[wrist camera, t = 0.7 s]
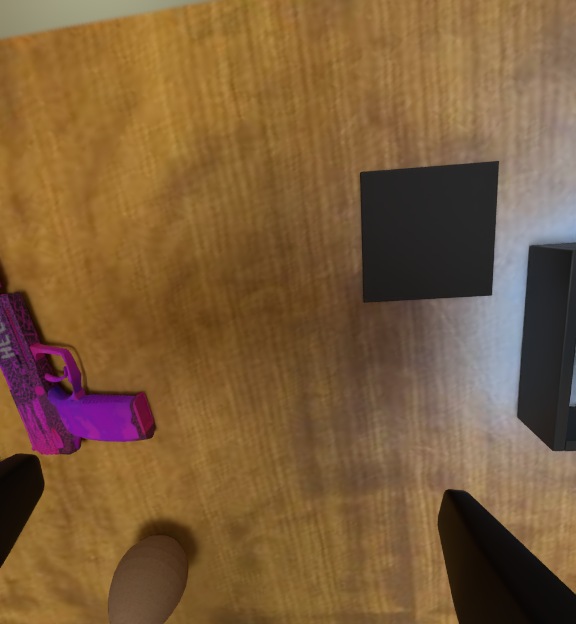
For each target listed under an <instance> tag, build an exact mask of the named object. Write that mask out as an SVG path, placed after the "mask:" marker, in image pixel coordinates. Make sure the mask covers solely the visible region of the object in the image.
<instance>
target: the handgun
mask: <svg viewBox="0 0 576 624" xmlns="http://www.w3.org/2000/svg"><path fill="white" fill-rule="evenodd" d="M0 287H2V285H1V283H0ZM45 353H48V354H56V355H62V357H63V359H64V361H65V363H66V366H67V367H66V366H64V372H65V374H64V376H62V377H56V376H55V375H54V372H53V370H52V367H51V365H50V363H49V362H48V360H47V357H46V355H45ZM0 367H1V369H2V371H3V374H4V376H5V378H6V381H7V383H8V385H9V388H10V392H11V394H12V397H13V399H14V401H15V404H16V406H17V408H18V411H19V413H20V415H21V418H22V420H23V422H24V424H25V427H26V429H27V431H28V434H29V438H30V441H31V444H32V446H33V448H32V450H33V451H34V450H36V451H38V452H39V453H41V454H45V455H49V454H55V455H57V454H72V453H74V452H76V451H77V450H79V449H80V447H81V440H82V437H83V438H87V439H92V440H99V441H120V442H125V441H138V440H145V439H150V438H152V437H153V435H154V431H155V425H154V420H153V417H152V414H151V411H150V409H149V406H148V403H147V400H146V397H145V394H144V393H143V392H141V393H139V394H138V395H137V396H128V395H127V396H125V395H124V396H122V395H120V396H119V395H117V396H115V395H113V396H112V395H110V396H109V395H102V394H101V395H99V394H98V395H96V394H94V395H93V394H91V395H85V391H84V389H82V387H81V373H80V371H79V369H78V367H77V365H76V363H75V361H74V359H73V357H72V355H71V353H70V352H69V350H67V349H63V348H58V347H52V346H46V345H41V342H40V340H39V337H38V335H37V332H36V330H35V327H34V325H33V323H32V320H31V318H30V315H29V313H28V310H27V308H26V305H25V303H24V300H23V298H22V295H21V293H20V292H18V293H14V294H12V293H10V294H7V293H6V294H2V295H1V296H0ZM67 376H68V381H69V382H70V383H72V385H73V393H72V395H68V394H66V393H65V392H64V391H63V390H62V389H61V388H60V386H59V385H58V381H60V380H62V379H64V378H66V377H67Z"/></svg>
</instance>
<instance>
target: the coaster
mask: <svg viewBox="0 0 576 624" xmlns="http://www.w3.org/2000/svg"><path fill="white" fill-rule="evenodd" d="M498 168H499V161H495V162H482V163H470V164H458V165H445V166H433V167H420V168H408V169H395V170H383V171H370V172H361V173H360V178H361V218H362V257H363V297H364V302H381V301H399V300H418V299H436V298H454V297H472V296H490V295H492V283H493V264H494V245H495V226H496V206H497V187H498Z"/></svg>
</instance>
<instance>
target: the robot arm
mask: <svg viewBox="0 0 576 624" xmlns="http://www.w3.org/2000/svg"><path fill="white" fill-rule="evenodd" d="M44 484H45V483H44V478H43V474H42V469H41V465H40V461H39V458H38V457H37V456H36V455H32V454H15V455H13V456H11V457H9V458H7V459H5V460H3V461H1V462H0V568H1V566H2V565H3V563H4V561H5V560H6V558H7V556H8V554H9V553H10V551H11V549H12V547H13V546H14V544H15V542H16V540H17V538H18V537H19V535H20V533H21V531H22V529H23V528H24V526H25V524H26V522H27V521H28V519H29V517H30V515H31V513H32V512H33V510H34V508H35V506H36V504H37V503H38V501H39V499H40V497H41V495H42V493H43V490H44ZM438 530H439V535H440V540H441V545H442V550H443V555H444V560H445V564H446V569H447V574H448V579H449V584H450V589H451V593H452V598H453V602H454V607H455V611H456V614H457V618H458V621H459V624H576V594H575V593H573V592H572V591H571V590H570V589H569V588H568V587H567V586H566V585H565V584H564V583H563V582H562V581H561V580H560V579H559V578H558V577H557V576H556V575H555V574H553V573H552V572H551V571H550V570H549V569H548V568H547V567H546V566H545V565H544V564H543V563H542V562H541V561H540V560H539V559H538V558H537V557H536V556H534V555H533V554H532V553H531V552H530V551H529V550H528V549H527V548H526V547H525V546H524V545H523V544H522V543H521V542H520V541H519V540H518V539H517V538H515V537H514V536H513V535H512V534H511V533H510V532H509V531H508V530H507V529H506V528H505V527H504V526H503V525H502V524H501V523H500V522H499V521H498V520H496V519H495V518H494V517H493V516H492V515H491V514H490V513H489V512H488V511H487V510H486V509H485V508H484V507H483V506H482V505H481V504H480V503H479V502H477V501H476V500H475V499H474V498H473V497H472V496H471V495H470V494H469V493H468V492H466V491H463V490H453V489H448V490H446V491H445V492H444V495H443V499H442V503H441V507H440V511H439V515H438Z"/></svg>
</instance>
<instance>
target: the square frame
mask: <svg viewBox="0 0 576 624" xmlns="http://www.w3.org/2000/svg"><path fill="white" fill-rule="evenodd" d="M575 346H576V243H561V244H546V245H531V246H530V252H529V266H528V280H527V294H526V307H525V321H524V335H523V349H522V362H521V376H520V390H519V404H518V418H519V419H520V420H521V421H522V422H523V423H524V424H525V425H526V426H527V427H528V428H529V429H530V430H531V431H532V432H533V433H534V434H535V435H536V436H538V437H539V438H540V439H541V440H542V441H543V442H544V443H545V444H546V445H547V446H548V447H549V448H550V449H551V450H552V451H564V450H565V451H576V407H569V403H570V394H571V384H572V375H573V365H574V356H575Z"/></svg>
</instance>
